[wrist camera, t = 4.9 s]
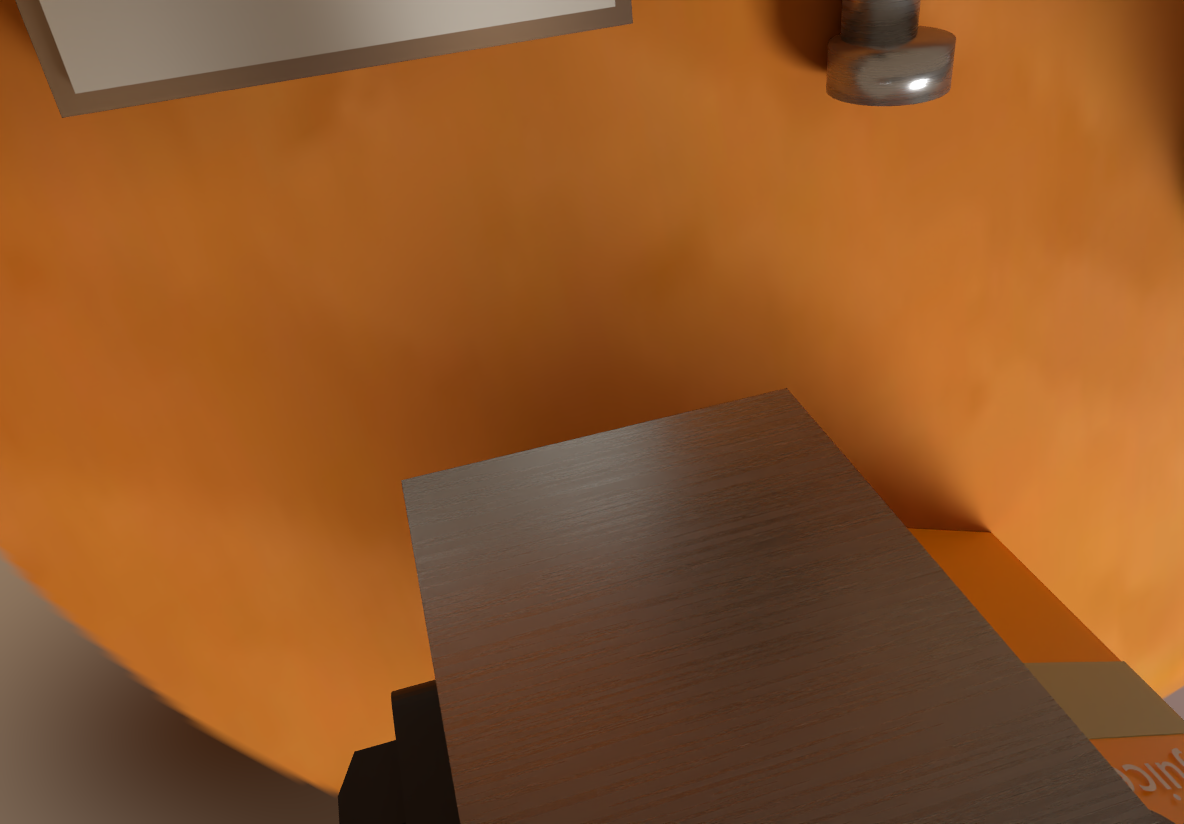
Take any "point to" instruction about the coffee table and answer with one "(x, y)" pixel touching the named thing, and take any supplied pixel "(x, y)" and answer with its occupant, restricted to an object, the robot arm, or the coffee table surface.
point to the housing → (724, 643)
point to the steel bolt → (888, 55)
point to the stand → (268, 40)
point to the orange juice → (1071, 665)
